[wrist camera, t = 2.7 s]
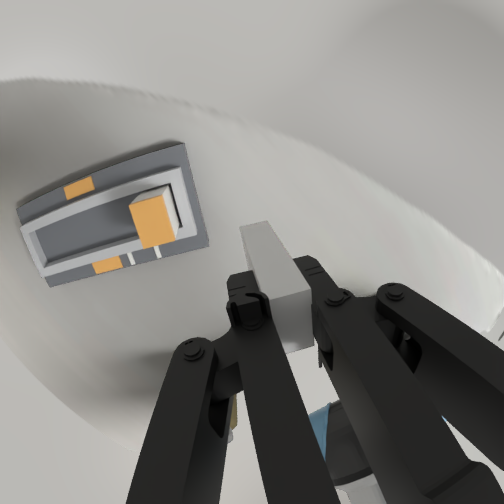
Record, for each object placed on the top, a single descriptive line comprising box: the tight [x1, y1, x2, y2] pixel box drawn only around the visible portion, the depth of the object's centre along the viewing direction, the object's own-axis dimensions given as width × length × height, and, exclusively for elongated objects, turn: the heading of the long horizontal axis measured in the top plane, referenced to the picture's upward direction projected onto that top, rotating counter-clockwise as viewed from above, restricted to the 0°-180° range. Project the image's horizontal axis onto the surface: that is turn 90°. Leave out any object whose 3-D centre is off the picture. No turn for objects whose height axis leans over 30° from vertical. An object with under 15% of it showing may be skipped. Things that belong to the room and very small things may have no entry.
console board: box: [16, 143, 209, 287], centre depth 28 cm, size 24×12×4 cm, turn 101°
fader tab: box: [129, 184, 180, 249], centre depth 26 cm, size 3×4×5 cm
